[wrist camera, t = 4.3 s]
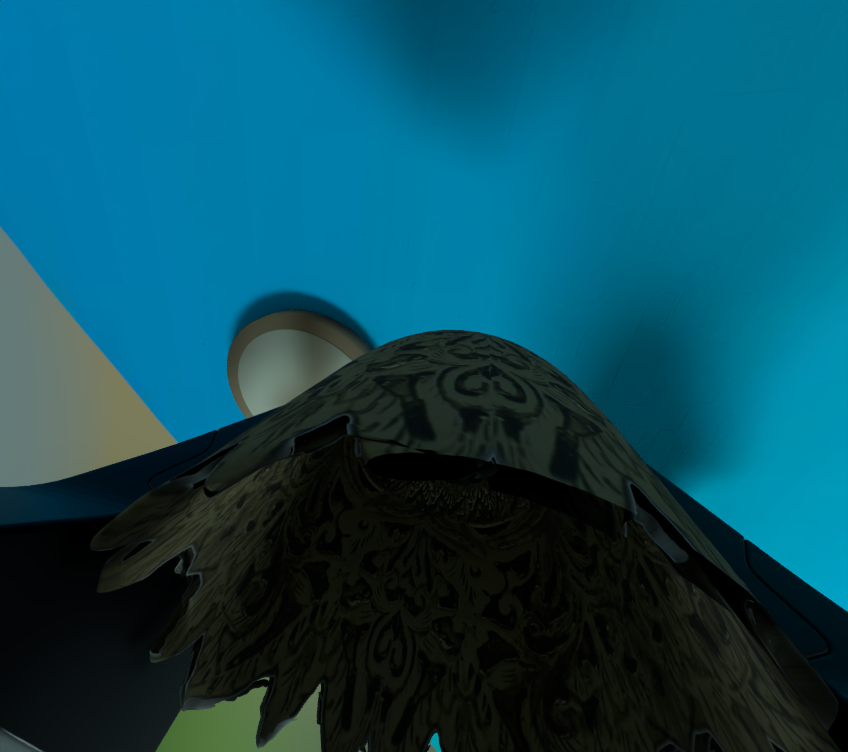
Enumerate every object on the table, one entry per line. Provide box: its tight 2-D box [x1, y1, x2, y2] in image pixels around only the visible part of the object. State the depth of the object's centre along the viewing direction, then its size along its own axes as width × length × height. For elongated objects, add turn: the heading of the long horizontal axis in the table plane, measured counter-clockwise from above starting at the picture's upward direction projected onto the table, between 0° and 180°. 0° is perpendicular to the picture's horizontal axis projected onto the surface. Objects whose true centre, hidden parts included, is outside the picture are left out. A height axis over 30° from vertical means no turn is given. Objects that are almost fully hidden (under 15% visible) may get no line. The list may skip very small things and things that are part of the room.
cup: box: [90, 330, 848, 752], centre depth 7 cm, size 8×7×8 cm
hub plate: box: [227, 310, 372, 419], centre depth 23 cm, size 13×13×1 cm
